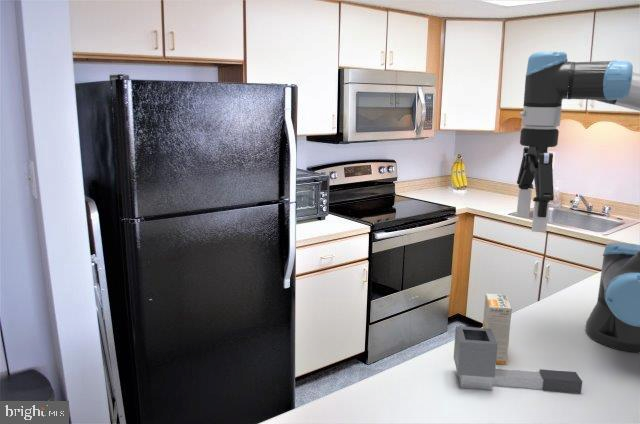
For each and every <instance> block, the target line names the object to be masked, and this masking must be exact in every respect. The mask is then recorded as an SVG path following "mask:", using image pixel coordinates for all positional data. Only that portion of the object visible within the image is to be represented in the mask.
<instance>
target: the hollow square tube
mask: <svg viewBox="0 0 640 424" xmlns="http://www.w3.org/2000/svg"><path fill="white" fill-rule="evenodd" d="M454 331H455V332H454V334H455V335H454V347H453V361H454V366H455V369H456V373H457V376H458V375H467V376H480V377H493V378H495V369H497V368H496V365H497V364H496V357H497V346H498V344H497V342H496V340H495V337H494V335H493V333H492V330H491V329H489V328H483V327H471V326H455V330H454Z"/></svg>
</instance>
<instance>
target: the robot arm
mask: <svg viewBox="0 0 640 424" xmlns="http://www.w3.org/2000/svg"><path fill="white" fill-rule="evenodd" d="M633 69H634V67H633V64H632V63H631V61H626V60H624V61H623V60H621V61H619V60H611V61H610V60H609V61H608V60H607V61H605V60H603V61H600V60H599V61H597V60H596V61H568V54H567V53H566V52H564V51H539V52H535V53H534V52H533V53H531V54H530V56H529V57H528V59H527V67H526V72H525V83H524V94H523V95H524V96H523V109H522V111H520V113H519V116H521V117H522V118H521V119H522V120H521V125H522V126H524V127H522V128H521V129H520V137H519V144H520V145H521V146H523V150H522V151H523V152H522V158H521V164H520V168H519V171H518V175H517V176H518V177H517V180H516V184H517V185H518V195H517V196H518V197H517V206H516V217H517V218H530V212H531V201H533V202H534V203H533V214H532V223H531V232H535V233H537V232H538V233H547V225H548V218H549V217H548V215H549V209H550V208H549V207H550V202H551V201H554V199H555V195H554V176H553V175H554V174H553V173H554V171H553V170H554V169H553V159H554V154H553V153H552V152H548V149H549V148H555V147H556V146H558V143H559V133H560V131H559V130H558V128H557V127H559V126H560V125H561V120H562V119H561V118H562V106H563V104H562V103H563V100H590V101H595V102H596V101H597V102H601V103H605V104H608V105H614V106H617V107H621V108H626V109H628V110H629V109H630V110H633V111H638V112H640V73H638V72H634V70H633ZM533 181H534V184H533ZM532 189H533V190H535V197H533V199H532V194H533V193H532V191H533V190H532ZM603 251H604V252H603V253H602V257H603V258H602V259H603V260H602V265H601V273H600V281H599V285H598V286H599V287H598V295H597V302H596V304H595V305H594V307H593V309H592V311H591V312H590V314H589V316H588V318H587V320H586V323H585V329H584V330H585V333H586V335H587V336H588V337H589V338H590V339H591V340H593V341H595V342H597V343H599V344H601V345H602V346H603V345H604V346H606V347H608V348H613V349H616V350H619V351H620V350H621V351H625V352H634V353H640V244H636V243H635V244H634V243H629V242H628V243H625V242H610V243H607V244H606V245H605V247H604V250H603Z"/></svg>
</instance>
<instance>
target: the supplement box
mask: <svg viewBox="0 0 640 424" xmlns="http://www.w3.org/2000/svg"><path fill="white" fill-rule="evenodd" d="M484 296H485V297H484V298H485V299H484V308H483V320H482V328H489V329H491V330H492V333H493V335H494V337H495V340H496V342H497V344H498V346H497V357H496V365H497V364H498V365H507V362H508V353H509V352H508V351H509V343H510V333H511V332H510V330H511V322H512V320H511V319H512V312H513V311H512V310H513V309H512V308H513V307H512V306H511V304H510V300H509V298H508V296H507V294H500V293H499V294H498V293H485V295H484Z"/></svg>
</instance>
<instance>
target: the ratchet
mask: <svg viewBox="0 0 640 424" xmlns="http://www.w3.org/2000/svg"><path fill="white" fill-rule="evenodd" d="M457 378H458V382H459V385H460V386H459V387H460V388H465V389H477V390H490V391H491V390H493V386H494V387H506V388H516V389H517V388H519V389H531V390H542V391H544V392H556V393H568V394H580V395H581V394H582V388H583V380H582V378H581V377H580V376H579V374H578V373H577V372H576V371H570V370H569V371H567V370H554V369H543V368H542V369H541V368H540V369H539V370H538V371H532V370H531V371H530V370H529V371H528V370H515V369H506V368H505V369H502V368H495V378H493V377H480V376H467V375H458V374H457Z"/></svg>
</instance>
